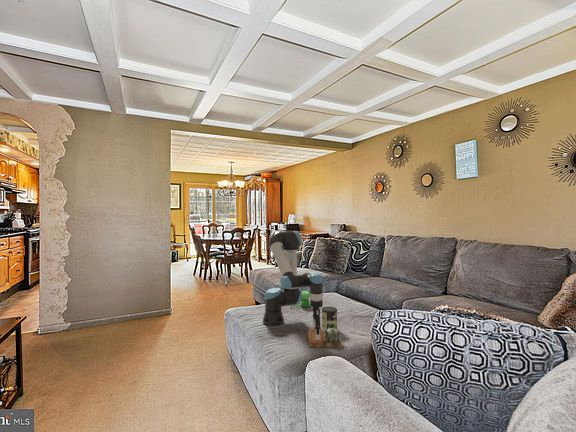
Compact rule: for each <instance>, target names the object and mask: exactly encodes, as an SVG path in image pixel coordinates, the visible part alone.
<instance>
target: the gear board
mask: <svg viewBox="0 0 576 432" xmlns="http://www.w3.org/2000/svg"><path fill="white" fill-rule="evenodd" d="M340 334H341V333H340V330H339V328H337V329H335V328H328V329H325V332H324V342H321V344H319V343H315V344H314V343H313V342H309V341H308V342H309V347H310V349H314V348H313V347H338V348H344V345H343V343H342V340H341V338H340ZM307 336H308V339H309V335H307Z"/></svg>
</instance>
